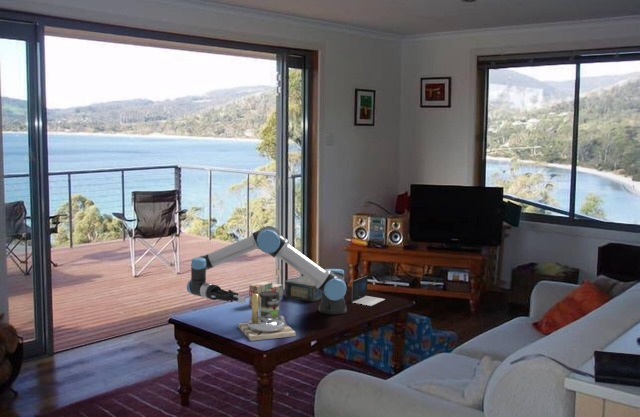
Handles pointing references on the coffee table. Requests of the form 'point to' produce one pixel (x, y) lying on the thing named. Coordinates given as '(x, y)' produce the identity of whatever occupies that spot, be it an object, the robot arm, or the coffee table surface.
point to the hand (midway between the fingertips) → (243, 300)
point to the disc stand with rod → (264, 320)
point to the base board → (261, 336)
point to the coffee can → (269, 303)
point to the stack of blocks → (264, 287)
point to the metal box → (302, 289)
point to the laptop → (362, 293)
